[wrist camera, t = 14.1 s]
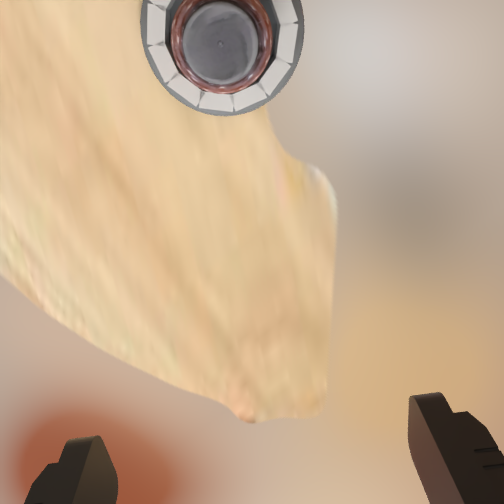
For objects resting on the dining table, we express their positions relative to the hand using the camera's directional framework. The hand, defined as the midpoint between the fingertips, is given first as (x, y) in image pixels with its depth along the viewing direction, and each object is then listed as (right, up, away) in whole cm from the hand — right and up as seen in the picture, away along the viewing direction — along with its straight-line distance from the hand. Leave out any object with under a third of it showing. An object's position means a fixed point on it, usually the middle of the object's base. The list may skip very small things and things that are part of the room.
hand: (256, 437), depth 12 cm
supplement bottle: (-2, +21, +22) cm, 30 cm away
